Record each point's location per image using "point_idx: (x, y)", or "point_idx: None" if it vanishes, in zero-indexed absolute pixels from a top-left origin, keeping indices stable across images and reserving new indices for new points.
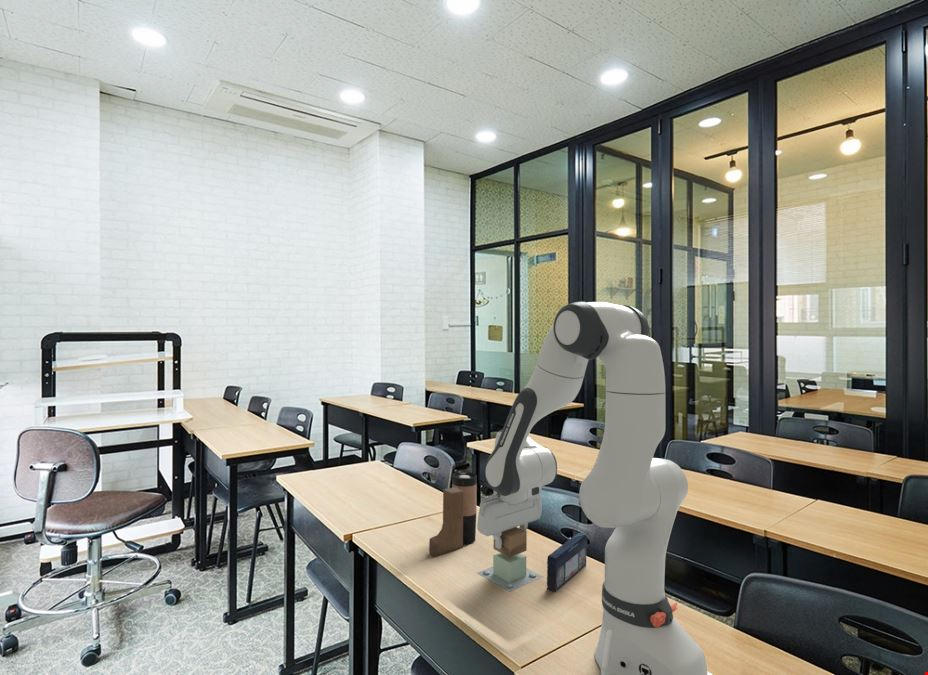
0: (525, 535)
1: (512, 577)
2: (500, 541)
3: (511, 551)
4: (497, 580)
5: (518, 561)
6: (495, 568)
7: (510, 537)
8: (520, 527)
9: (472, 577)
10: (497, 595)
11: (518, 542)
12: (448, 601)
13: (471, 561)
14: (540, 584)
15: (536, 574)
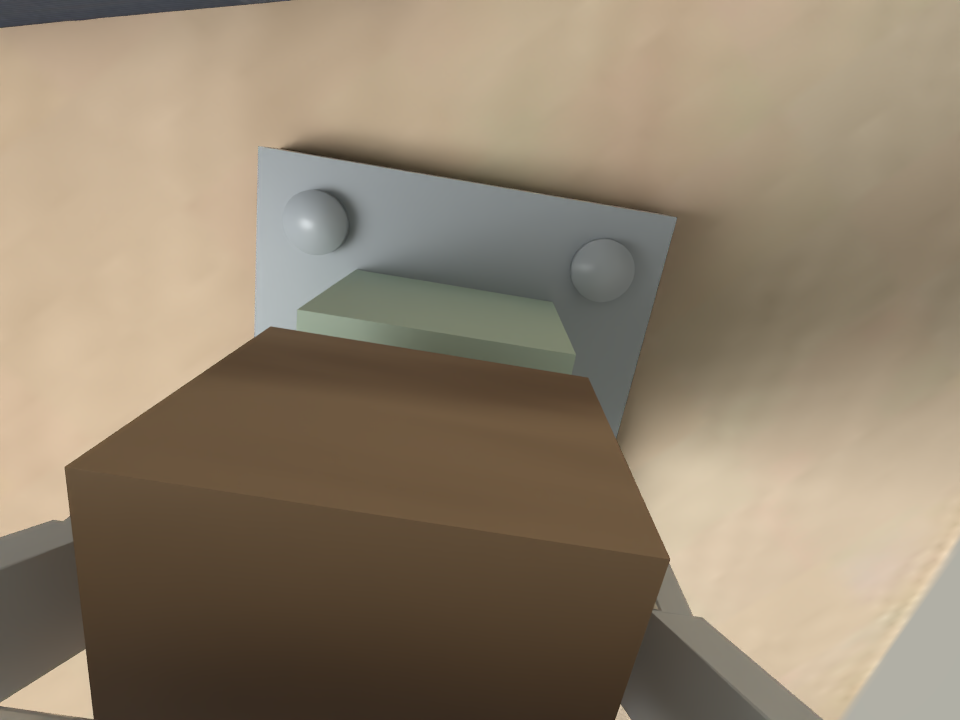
0: (164, 429)
1: (520, 304)
2: (695, 624)
3: (567, 401)
4: None
5: (434, 324)
6: None
7: (653, 551)
8: (3, 676)
9: None
10: (684, 301)
11: (406, 419)
12: (936, 488)
13: None
14: (319, 143)
15: (273, 211)
